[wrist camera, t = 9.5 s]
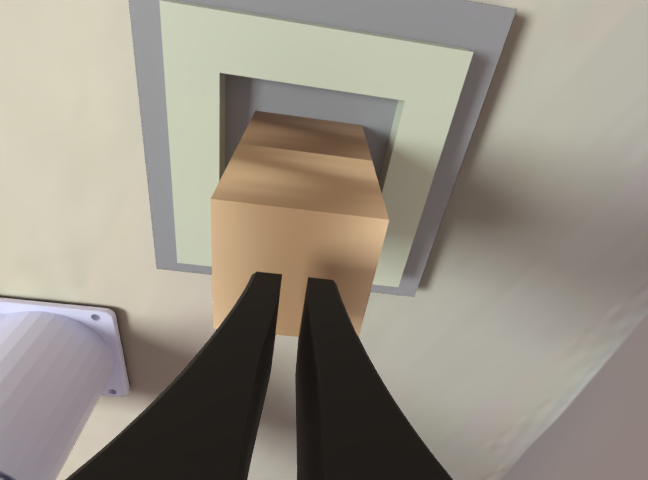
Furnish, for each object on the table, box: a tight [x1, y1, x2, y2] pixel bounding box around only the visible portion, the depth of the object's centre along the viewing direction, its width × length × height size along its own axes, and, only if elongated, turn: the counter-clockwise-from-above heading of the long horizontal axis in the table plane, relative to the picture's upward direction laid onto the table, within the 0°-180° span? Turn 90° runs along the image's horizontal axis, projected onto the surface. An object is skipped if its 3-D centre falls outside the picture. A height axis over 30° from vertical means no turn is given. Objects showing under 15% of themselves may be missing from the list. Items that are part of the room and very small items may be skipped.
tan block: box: [211, 111, 389, 337], centre depth 15 cm, size 4×4×8 cm
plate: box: [129, 0, 516, 297], centre depth 18 cm, size 14×14×2 cm
